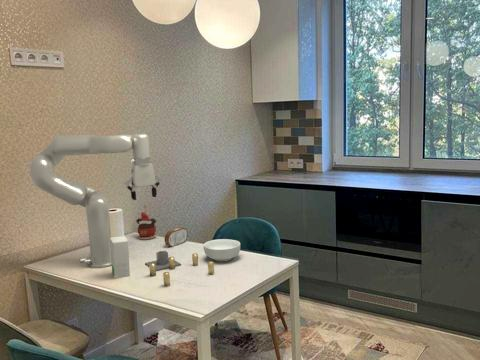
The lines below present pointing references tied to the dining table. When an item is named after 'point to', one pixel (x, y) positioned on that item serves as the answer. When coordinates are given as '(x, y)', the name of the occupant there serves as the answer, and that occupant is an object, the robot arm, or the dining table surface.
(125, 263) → the skincare box
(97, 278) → the dining table surface
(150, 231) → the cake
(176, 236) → the tin
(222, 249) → the cereal bowl
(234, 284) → the dining table surface
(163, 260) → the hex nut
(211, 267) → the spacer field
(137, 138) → the robot arm
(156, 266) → the mat
